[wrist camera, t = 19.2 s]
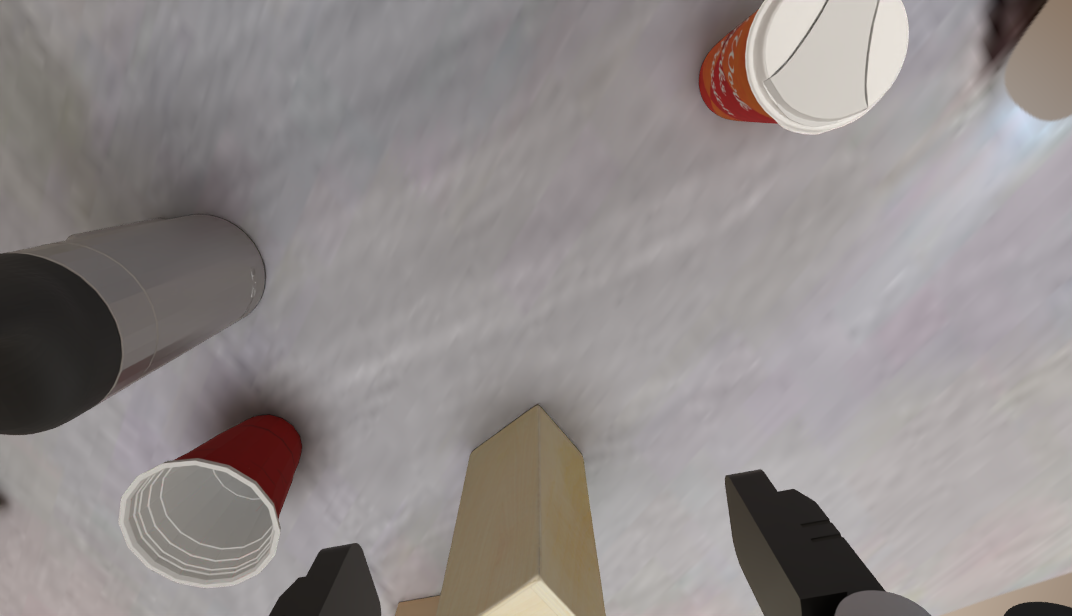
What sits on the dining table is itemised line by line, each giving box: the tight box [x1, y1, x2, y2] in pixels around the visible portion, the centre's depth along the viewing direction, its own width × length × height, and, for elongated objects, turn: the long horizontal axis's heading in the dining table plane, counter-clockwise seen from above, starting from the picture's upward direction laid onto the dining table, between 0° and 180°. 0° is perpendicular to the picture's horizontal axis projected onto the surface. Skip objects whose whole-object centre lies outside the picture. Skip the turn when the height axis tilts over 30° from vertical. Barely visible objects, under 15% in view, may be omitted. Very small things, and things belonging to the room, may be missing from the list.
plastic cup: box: [118, 415, 302, 588], centre depth 46 cm, size 11×11×12 cm
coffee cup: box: [699, 0, 909, 135], centre depth 37 cm, size 8×8×15 cm
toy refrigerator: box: [436, 405, 606, 616], centre depth 42 cm, size 8×7×21 cm
